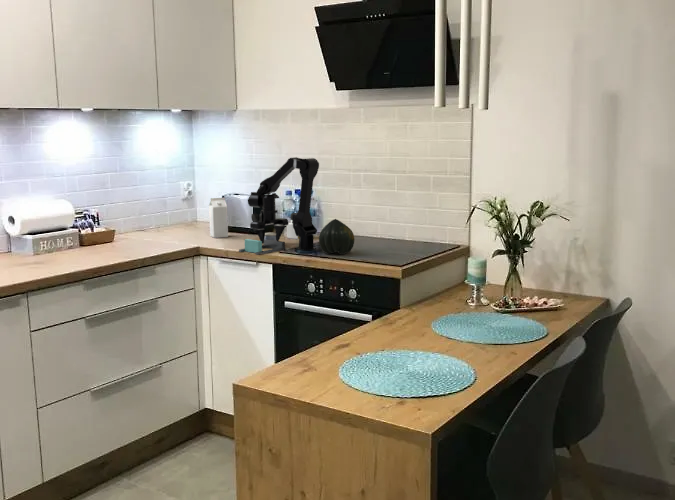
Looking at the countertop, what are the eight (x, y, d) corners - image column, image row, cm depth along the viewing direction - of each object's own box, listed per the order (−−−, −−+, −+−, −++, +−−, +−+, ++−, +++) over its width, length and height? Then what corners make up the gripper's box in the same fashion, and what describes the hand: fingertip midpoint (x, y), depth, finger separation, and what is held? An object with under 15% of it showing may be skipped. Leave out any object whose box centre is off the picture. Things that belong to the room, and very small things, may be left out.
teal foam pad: (248, 250, 320) (248, 239, 320) (262, 252, 315) (261, 241, 314) (244, 251, 319) (244, 239, 318) (258, 253, 313) (258, 241, 312)
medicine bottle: (298, 239, 352) (297, 214, 350) (286, 238, 356) (286, 213, 354) (307, 237, 357) (307, 212, 355) (296, 236, 361) (295, 211, 359)
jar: (278, 245, 335) (278, 233, 334) (268, 246, 331) (267, 234, 330) (271, 243, 339) (271, 232, 338) (261, 245, 336) (260, 233, 335)
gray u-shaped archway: (266, 246, 330) (266, 239, 330) (284, 249, 322) (284, 241, 322) (238, 251, 318) (238, 243, 318) (257, 254, 311) (257, 246, 310)
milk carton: (210, 236, 364) (208, 197, 360) (224, 235, 367) (222, 197, 363) (213, 238, 357) (212, 199, 354) (228, 237, 360) (226, 198, 357)
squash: (339, 245, 300) (350, 214, 307) (308, 243, 308) (320, 214, 315) (353, 263, 311) (363, 234, 317) (323, 261, 318) (334, 233, 325)
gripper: (272, 205, 345) (272, 238, 347) (241, 208, 331) (242, 243, 334) (288, 206, 337) (289, 240, 340) (258, 210, 324) (259, 245, 326)
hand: (269, 242), depth 335 cm, fingers open, 9 cm apart
